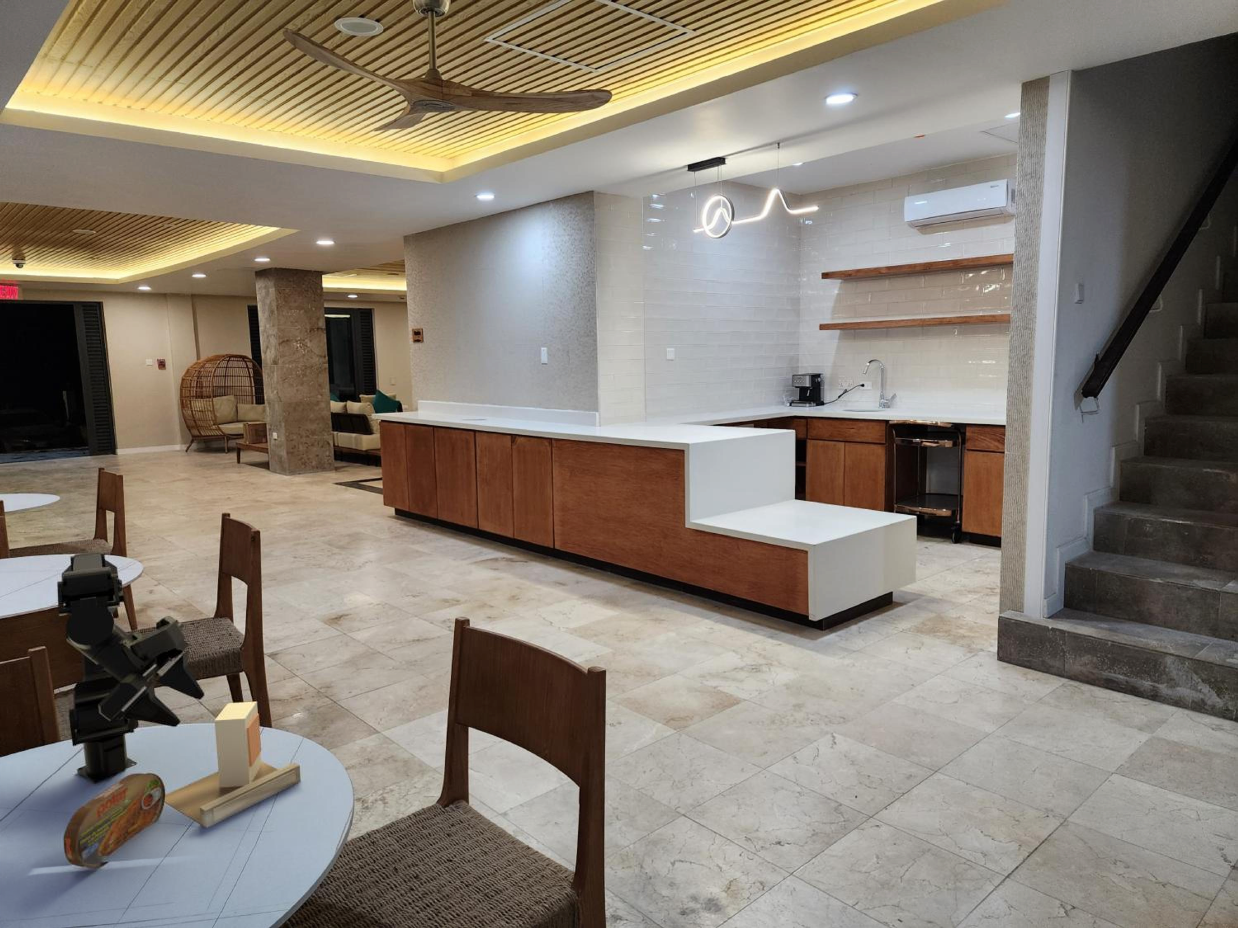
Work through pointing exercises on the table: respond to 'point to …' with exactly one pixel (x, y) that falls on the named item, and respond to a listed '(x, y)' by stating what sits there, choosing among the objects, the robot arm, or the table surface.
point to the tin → (113, 819)
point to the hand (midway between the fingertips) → (190, 710)
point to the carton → (238, 744)
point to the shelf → (230, 794)
